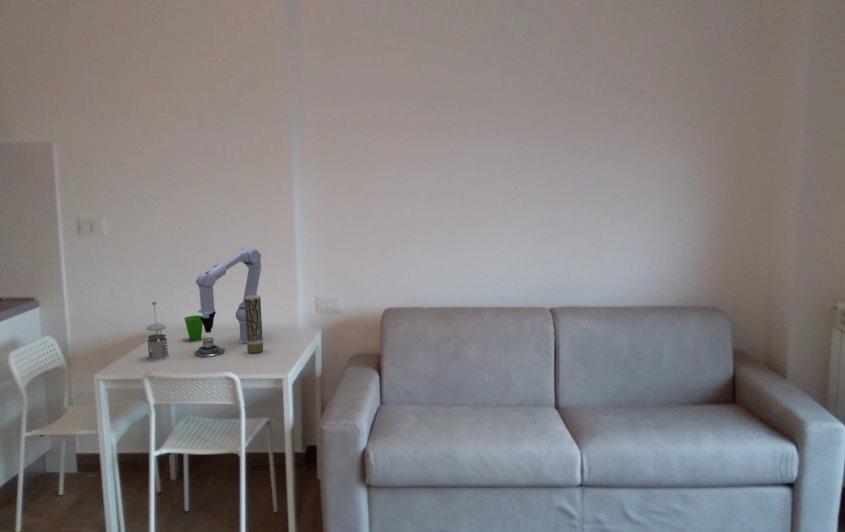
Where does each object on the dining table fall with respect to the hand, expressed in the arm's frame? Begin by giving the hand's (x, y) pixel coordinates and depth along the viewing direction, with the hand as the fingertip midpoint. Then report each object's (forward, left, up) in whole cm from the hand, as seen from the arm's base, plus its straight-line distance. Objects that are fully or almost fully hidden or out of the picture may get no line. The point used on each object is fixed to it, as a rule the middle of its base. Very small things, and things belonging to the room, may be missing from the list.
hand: (209, 330), depth 285 cm
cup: (+9, -23, -10) cm, 26 cm away
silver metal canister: (+1, +2, -9) cm, 10 cm away
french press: (+21, +3, -10) cm, 24 cm away
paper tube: (-20, +5, -10) cm, 23 cm away
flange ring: (0, +2, -10) cm, 10 cm away
